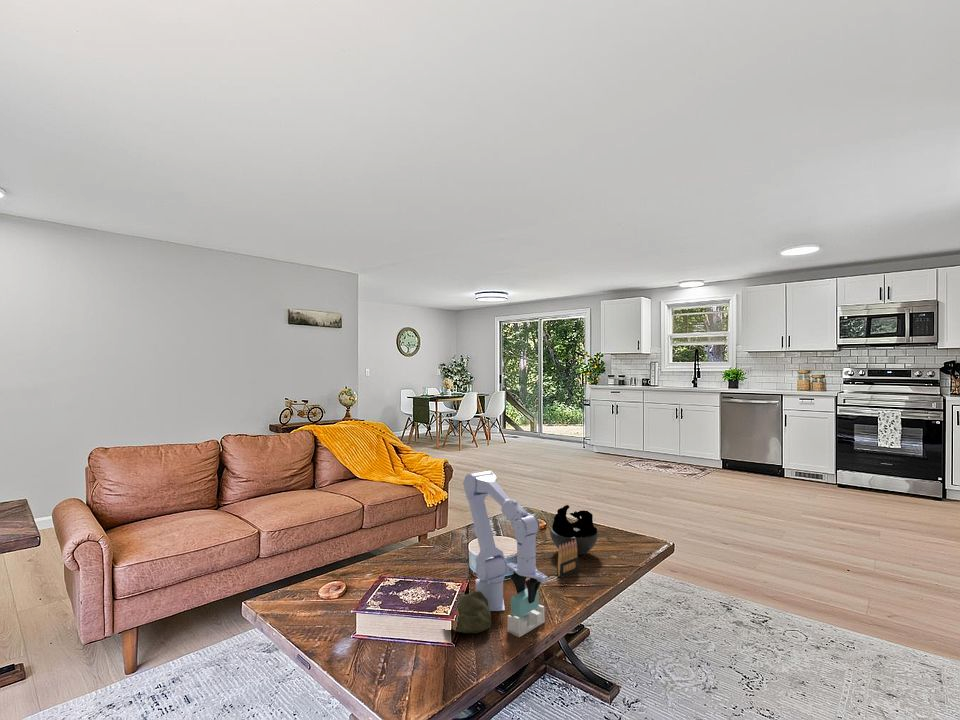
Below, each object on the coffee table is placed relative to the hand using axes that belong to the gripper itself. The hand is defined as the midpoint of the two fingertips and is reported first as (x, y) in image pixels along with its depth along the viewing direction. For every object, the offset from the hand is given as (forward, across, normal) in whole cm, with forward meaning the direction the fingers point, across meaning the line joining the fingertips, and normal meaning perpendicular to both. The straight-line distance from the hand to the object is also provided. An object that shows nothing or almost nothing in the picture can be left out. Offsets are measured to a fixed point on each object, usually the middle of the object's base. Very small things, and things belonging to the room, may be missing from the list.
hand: (526, 599), depth 159 cm
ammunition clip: (+8, +14, -42) cm, 45 cm away
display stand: (+8, 0, 0) cm, 8 cm away
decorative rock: (+8, +13, +12) cm, 20 cm away
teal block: (+3, 0, +1) cm, 3 cm away
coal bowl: (+8, +23, -60) cm, 65 cm away
